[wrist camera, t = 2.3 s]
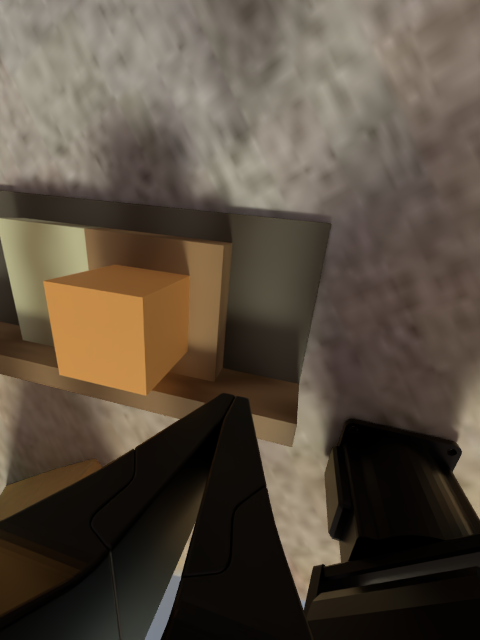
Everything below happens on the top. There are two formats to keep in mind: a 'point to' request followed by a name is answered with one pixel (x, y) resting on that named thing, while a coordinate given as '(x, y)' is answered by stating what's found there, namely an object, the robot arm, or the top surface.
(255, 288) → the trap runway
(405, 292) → the top surface
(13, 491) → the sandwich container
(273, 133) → the top surface
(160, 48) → the top surface
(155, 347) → the block
